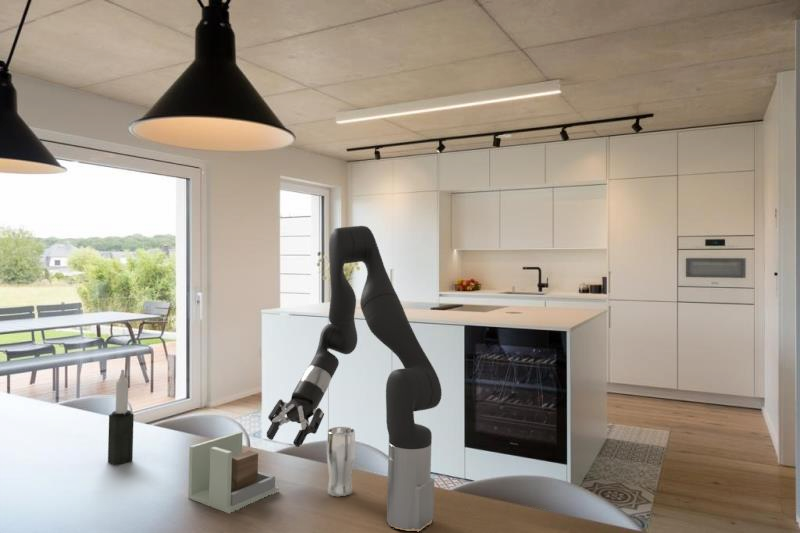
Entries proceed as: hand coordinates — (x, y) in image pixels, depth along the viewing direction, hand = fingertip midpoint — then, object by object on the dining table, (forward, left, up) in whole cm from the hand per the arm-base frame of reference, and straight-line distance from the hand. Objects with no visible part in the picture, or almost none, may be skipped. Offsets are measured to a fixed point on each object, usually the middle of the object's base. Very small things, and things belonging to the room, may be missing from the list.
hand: (282, 441), depth 143 cm
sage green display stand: (+4, +12, -10) cm, 16 cm away
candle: (+46, +15, -11) cm, 49 cm away
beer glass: (-15, -4, -11) cm, 19 cm away
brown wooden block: (+1, +12, -9) cm, 15 cm away
